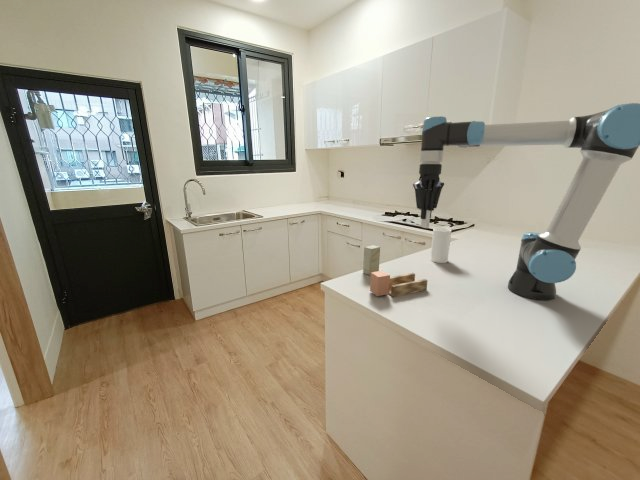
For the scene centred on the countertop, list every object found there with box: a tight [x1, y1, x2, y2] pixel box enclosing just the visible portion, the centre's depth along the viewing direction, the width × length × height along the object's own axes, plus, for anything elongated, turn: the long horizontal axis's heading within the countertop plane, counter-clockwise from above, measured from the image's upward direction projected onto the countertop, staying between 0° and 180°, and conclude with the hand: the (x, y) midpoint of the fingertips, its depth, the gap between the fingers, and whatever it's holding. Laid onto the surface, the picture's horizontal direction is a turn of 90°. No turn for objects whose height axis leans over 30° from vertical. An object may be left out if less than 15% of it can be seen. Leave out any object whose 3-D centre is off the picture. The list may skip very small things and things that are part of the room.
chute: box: [388, 272, 428, 298], centre depth 115 cm, size 16×8×4 cm, turn 113°
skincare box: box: [362, 244, 381, 276], centre depth 131 cm, size 6×4×12 cm
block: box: [369, 270, 391, 297], centre depth 110 cm, size 5×5×8 cm
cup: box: [430, 227, 452, 264], centre depth 147 cm, size 8×8×16 cm
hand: (424, 227), depth 112 cm, fingers closed
